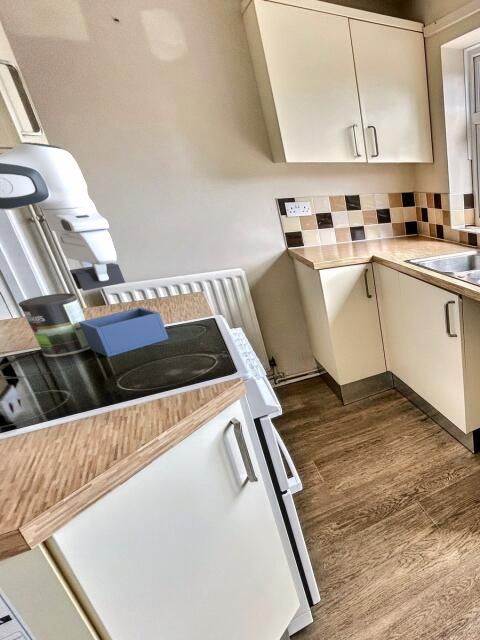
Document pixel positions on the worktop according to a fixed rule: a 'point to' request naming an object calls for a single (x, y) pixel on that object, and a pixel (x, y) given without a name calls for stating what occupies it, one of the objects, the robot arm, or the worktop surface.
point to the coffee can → (56, 323)
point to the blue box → (124, 331)
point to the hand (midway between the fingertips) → (99, 279)
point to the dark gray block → (88, 280)
